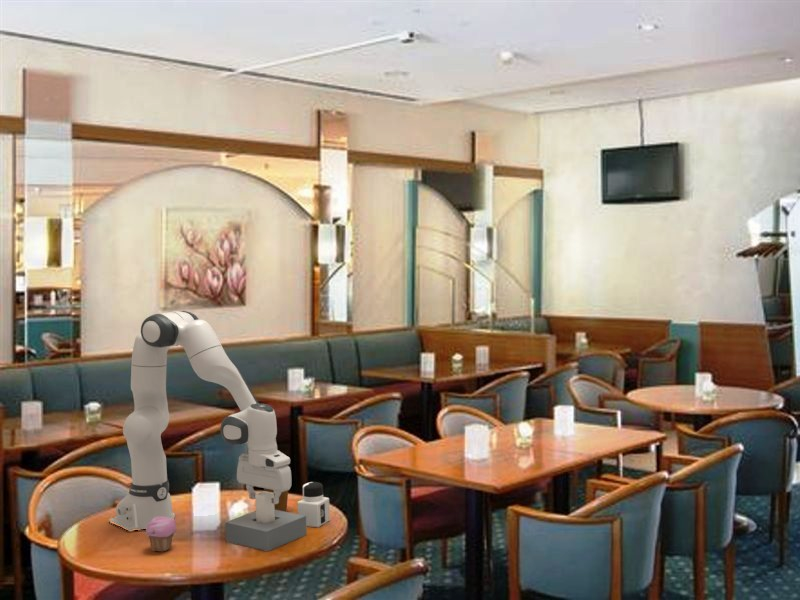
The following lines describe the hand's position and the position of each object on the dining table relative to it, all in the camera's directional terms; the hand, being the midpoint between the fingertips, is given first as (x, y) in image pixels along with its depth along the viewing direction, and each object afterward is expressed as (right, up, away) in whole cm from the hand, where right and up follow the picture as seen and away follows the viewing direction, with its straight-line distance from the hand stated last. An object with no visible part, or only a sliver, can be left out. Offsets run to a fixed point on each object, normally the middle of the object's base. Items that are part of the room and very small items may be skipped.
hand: (263, 501), depth 279 cm
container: (+14, -11, +15) cm, 23 cm away
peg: (+1, -12, +1) cm, 12 cm away
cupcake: (-30, -13, -7) cm, 33 cm away
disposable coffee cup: (0, -10, +28) cm, 30 cm away
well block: (+1, -12, +1) cm, 12 cm away
